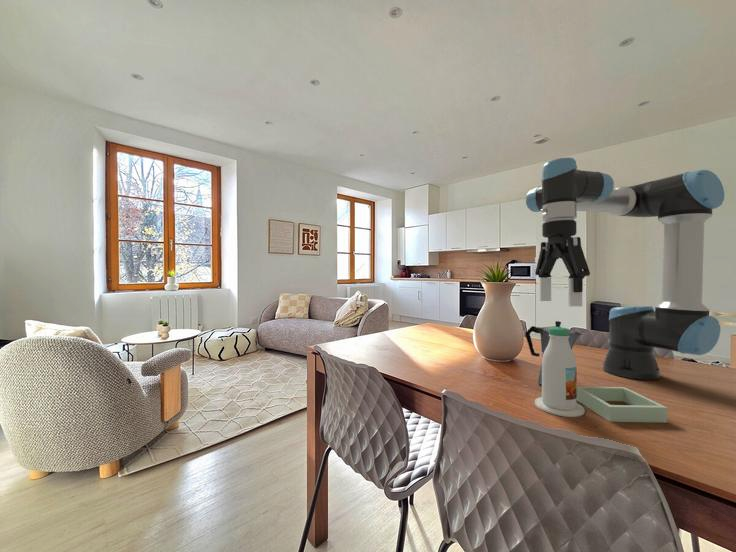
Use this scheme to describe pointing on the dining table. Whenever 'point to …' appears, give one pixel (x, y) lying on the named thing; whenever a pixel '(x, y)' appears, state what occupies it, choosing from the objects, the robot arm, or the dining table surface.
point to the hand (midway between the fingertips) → (559, 303)
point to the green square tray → (634, 412)
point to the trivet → (565, 413)
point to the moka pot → (547, 341)
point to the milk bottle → (559, 371)
